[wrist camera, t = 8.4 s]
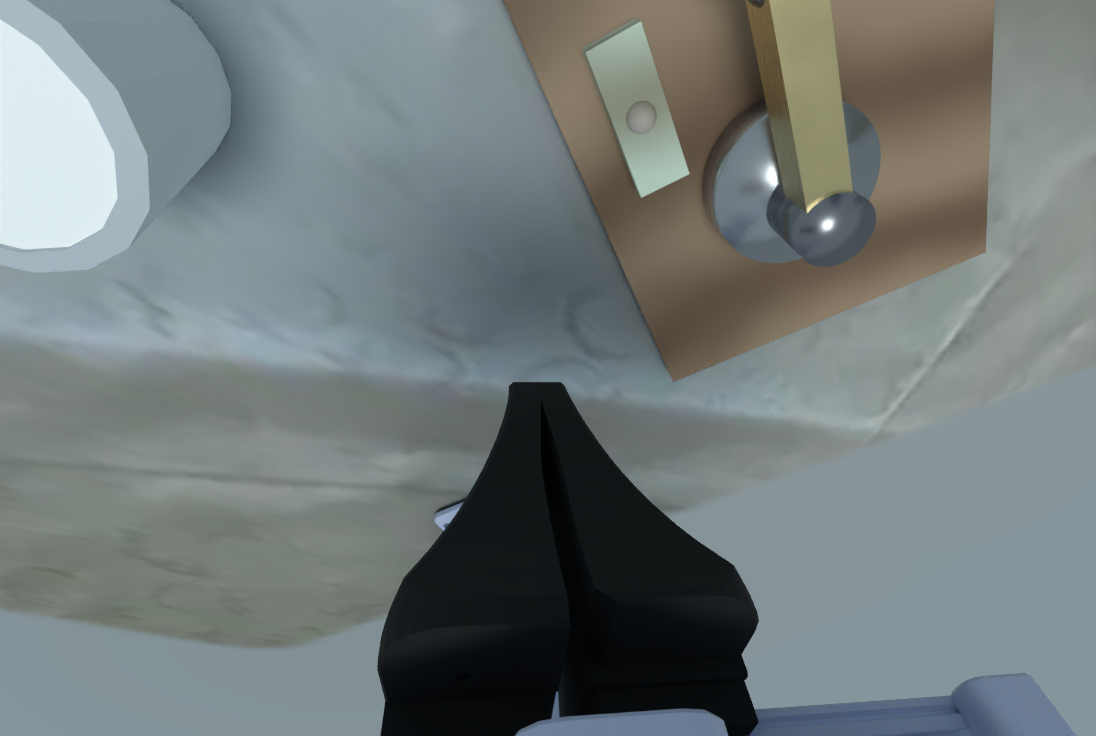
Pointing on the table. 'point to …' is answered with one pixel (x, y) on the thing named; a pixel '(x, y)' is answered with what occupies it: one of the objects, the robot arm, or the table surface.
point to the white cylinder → (99, 124)
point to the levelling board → (713, 104)
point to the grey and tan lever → (795, 149)
